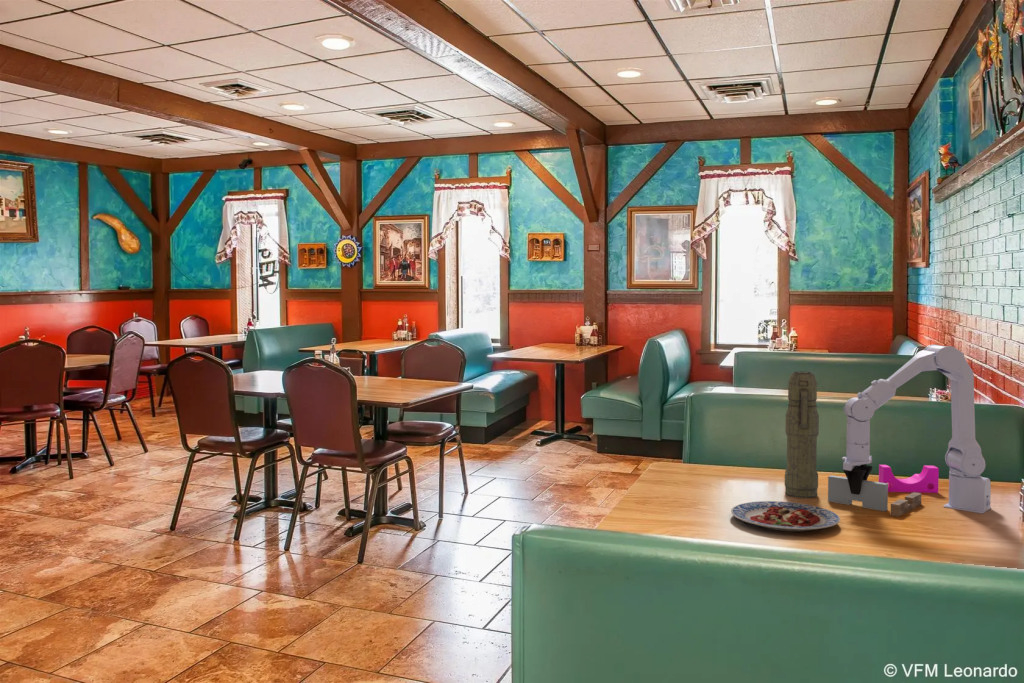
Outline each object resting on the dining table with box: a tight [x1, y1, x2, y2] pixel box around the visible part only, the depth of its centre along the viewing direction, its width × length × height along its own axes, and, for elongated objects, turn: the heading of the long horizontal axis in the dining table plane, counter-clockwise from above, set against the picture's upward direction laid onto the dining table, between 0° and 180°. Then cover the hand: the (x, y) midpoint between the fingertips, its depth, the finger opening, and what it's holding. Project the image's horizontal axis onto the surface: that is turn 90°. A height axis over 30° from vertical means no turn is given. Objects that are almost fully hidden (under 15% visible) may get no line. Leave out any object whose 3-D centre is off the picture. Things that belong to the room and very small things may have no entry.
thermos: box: [784, 371, 820, 499], centre depth 226 cm, size 9×12×35 cm
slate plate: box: [827, 474, 889, 512], centre depth 215 cm, size 15×2×7 cm, turn 45°
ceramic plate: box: [730, 500, 841, 532], centre depth 200 cm, size 26×26×3 cm
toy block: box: [878, 464, 940, 494], centre depth 232 cm, size 15×6×8 cm, turn 83°
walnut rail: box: [890, 492, 922, 517], centre depth 211 cm, size 17×2×3 cm, turn 135°
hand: (857, 493), depth 215 cm, fingers closed on slate plate, 2 cm apart
